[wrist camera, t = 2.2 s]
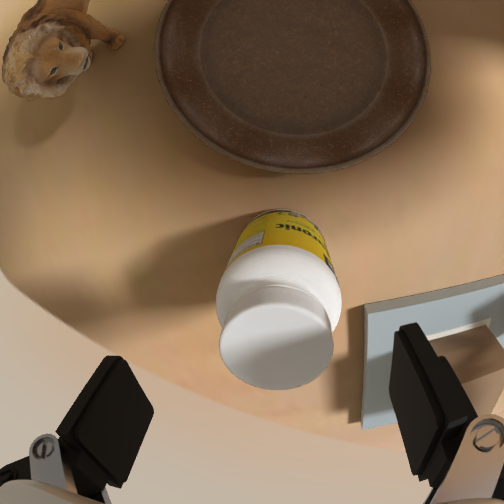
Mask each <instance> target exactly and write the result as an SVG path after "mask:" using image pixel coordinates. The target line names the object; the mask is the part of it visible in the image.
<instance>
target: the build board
mask: <svg viewBox="0 0 504 504" xmlns="http://www.w3.org/2000/svg"><path fill="white" fill-rule="evenodd" d="M415 322H417V323H418V324H419V326H420V327H421V329H422V331H423V332H424V334H425V336H426V337H427V339H428V341H429V340H433V339H437V338H441V337H444V336H448V335H452V334H455V333H459V332H463V331H466V330H469V329H473V328H476V327H479V326H483V325H486V326H487V327H488V328H489V329H490V331H491V332H492V333H493V335H494V336H495V337H496V339H497V340H498V341H499V343H500V344H501V345H502V347H503V348H504V274H503V275H499V276H495V277H491V278H487V279H484V280H480V281H475V282H471V283H467V284H463V285H459V286H454V287H450V288H446V289H441V290H437V291H432V292H427V293H422V294H417V295H413V296H407V297H402V298H397V299H392V300H386V301H381V302H375V303H370V304H364V375H363V394H362V409H361V426H362V430H364V429H369V428H375V427H380V426H384V425H389V424H394V423H398V422H397V418H396V415H395V412H394V409H393V405H392V402H391V399H390V396H389V382H390V373H391V364H392V354H393V343H394V333H395V331H399V328H400V326H402V325H406V324H410V323H415Z"/></svg>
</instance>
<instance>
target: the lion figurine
mask: <svg viewBox="0 0 504 504" xmlns="http://www.w3.org/2000/svg"><path fill="white" fill-rule="evenodd" d="M88 4H89V0H38V1H37V3H36V5H35V6H34V7H32V8H31V9H29V10H28V11H27V12H26V13H25V14H24V15H23V17H22V19H21V21H20V23H19V24H18V27H17V30H16V31H14V33H13V36H11V37H10V38H9V43H8V45H7V47H6V50H5V53H4V56H3V61H4V62H3V66H2V77H3V82H4V83H5V84H7V85H8V86H9V91H10V93H13V94H15V95H17V96H19V97H21V98H25V99H27V100H29V101H31V100H33V99H36V98H55V97H58V96H60V95H62V94H63V93H65V92H66V91H67V89H68V88H69V87H70V86H71V85H72V84H73V82H74V81H75V80H76V78H77V76H78V75H79V74H80V73H81V72H84V71H86V70H87V69H88V68H89V66H90V62H91V61H92V52H91V51H90V47H89V46H88V45H89V44H90V39H100V40H101V41H103V42H105V43H107V45H108V47H109V48H110V49H118V48H119V47H120V46H121V45H122V44H123V42H124V41H125V37H124V36H123V35H122V34H121V33H119V32H118V31H117V30H113V29H110V28H107V27H105V26H104V25H102V24H101V23H100V22H99V21H97V20H95V19H94V18H93V17H92V16H91V15H89V14H86V12H87V9H88Z"/></svg>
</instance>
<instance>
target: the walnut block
mask: <svg viewBox="0 0 504 504" xmlns="http://www.w3.org/2000/svg"><path fill="white" fill-rule="evenodd" d="M429 342H430V344H431V346H432V347H433V349H434V351H435V353H436V354H437V356H438V357H439V356H444V357H446V359H447V360H448V362H449V363H450V365H451V367H452V369H453V370H454V372H455V374H456V376H457V377H458V379H459V381H460V383H461V385H462V386H463V388H464V390H465V392H466V394H467V396H468V398H469V399H470V401H471V403H472V405H473V407H474V409H475V411H476V413H477V415H478V417H479V416H481V415H486V414H491V412H492V410H493V408H494V407H495V405H496V403H497V401H498V399H499V397H500V395H501V393H502V390H503V388H504V348H503V347H502V345H501V344H500V343H499V341H498V340H497V339H496V337H495V336H494V335H493V333H492V332H491V331H490V329H489V328H488V327H487V326H486V325H483V326H479V327H476V328H473V329H469V330H466V331H463V332H459V333H455V334H452V335H448V336H444V337H441V338H437V339H433V340H429Z"/></svg>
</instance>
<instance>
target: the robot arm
mask: <svg viewBox="0 0 504 504" xmlns="http://www.w3.org/2000/svg"><path fill="white" fill-rule="evenodd" d="M389 396H390V399H391V402H392V405H393V409H394V412H395V415H396V418H397V422H398V425H399V428H400V432H401V435H402V439H403V442H404V446H405V449H406V453H407V457H408V460H409V464H410V468H411V472H412V474H413V475H418V478H419V481H423V480H426V479H428V480H429V484H430V486H431V487H433V488H432V490H431V491H430V493H429V495H428V497H427V498H426V500H425V502H424V503H423V504H504V419H503V418H502V417H500V416H497V415H495V414H486V415H481V416H479V417H478V415H477V413H476V411H475V409H474V407H473V405H472V403H471V401H470V399H469V398H468V396H467V394H466V392H465V390H464V388H463V386H462V385H461V383H460V381H459V379H458V377H457V376H456V374H455V372H454V370H453V369H452V367H451V365H450V363H449V362H448V360H447V359H446V357H444V356H439V357H438V356H437V354H436V353H435V351H434V349H433V347H432V346H431V344H430V342H429V341H428V339H427V337H426V336H425V334H424V332H423V331H422V329H421V327H420V326H419V324H418V323H417V322H415V323H410V324H406V325H402V326H400V328H399V331H395V333H394V343H393V354H392V364H391V373H390V382H389ZM153 414H154V409H153V407H152V405H151V403H150V401H149V400H148V398H147V397H146V395H145V393H144V391H143V390H142V388H141V386H140V385H139V383H138V381H137V380H136V378H135V376H134V374H133V372H132V370H131V369H130V367H129V365H128V363H127V361H126V360H124V359H123V358H122V357H121V356H106V357H105V358H104V359H103V360H102V362H101V363H100V365H99V366H98V368H97V369H96V371H95V372H94V373H93V375H92V377H91V378H90V379H89V381H88V383H87V384H86V385H85V387H84V388H83V390H82V392H81V393H80V394H79V396H78V397H77V399H76V400H75V402H74V404H73V405H72V406H71V408H70V410H69V411H68V413H67V414H66V416H65V417H64V419H63V421H62V422H61V424H60V425H59V427H58V428H57V430H56V433H57V434H58V435H59V436H60V437H59V439H57V438H56V437H55V436H54V435H52V434H44V435H41V436H39V437H38V438H36V439H35V440H34V442H33V443H32V444H31V447H30V451H29V456H28V457H25V458H23V459H21V460H18V461H15V462H13V463H10V464H8V465H6V466H4V467H3V468H1V469H0V504H111V501H110V499H109V496H108V493H107V491H106V488H105V486H106V483H108V484H109V485H110V486H113V487H117V488H121V487H122V485H123V483H124V482H126V481H127V479H128V476H129V474H130V471H131V469H132V466H133V464H134V461H135V459H136V456H137V454H138V451H139V449H140V446H141V444H142V441H143V439H144V436H145V434H146V432H147V429H148V427H149V424H150V422H151V420H152V417H153Z"/></svg>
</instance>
